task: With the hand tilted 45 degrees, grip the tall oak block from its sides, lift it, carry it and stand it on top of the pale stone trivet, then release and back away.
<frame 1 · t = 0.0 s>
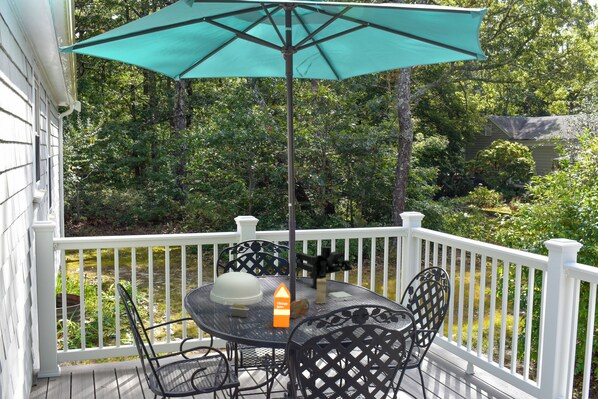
hand: (346, 269, 327), 17 cm above the table, tool horizontal, fingers open, 9 cm apart
orange juice: (281, 324, 276), on the table
stone trivet: (340, 299, 326), on the table
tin: (298, 316, 290), on the table
dome cover: (236, 298, 320), on the table
oak block: (320, 302, 316), on the table
platform: (239, 317, 286), on the table
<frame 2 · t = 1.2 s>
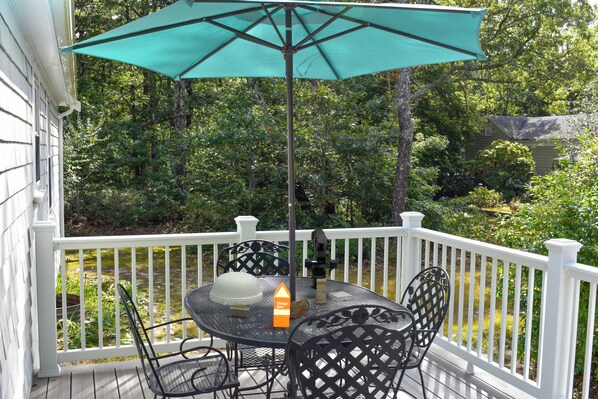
hand: (320, 276, 322), 13 cm above the table, tool tilted 45°, fingers open, 9 cm apart
nothing on the table moved.
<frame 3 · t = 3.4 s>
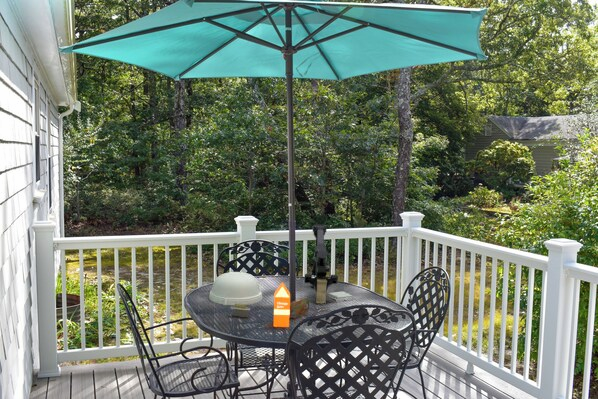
hand: (321, 291, 314), 7 cm above the table, tool tilted 45°, fingers closed on oak block, 5 cm apart
oak block: (320, 302, 316), on the table, touching gripper
everything else where it was.
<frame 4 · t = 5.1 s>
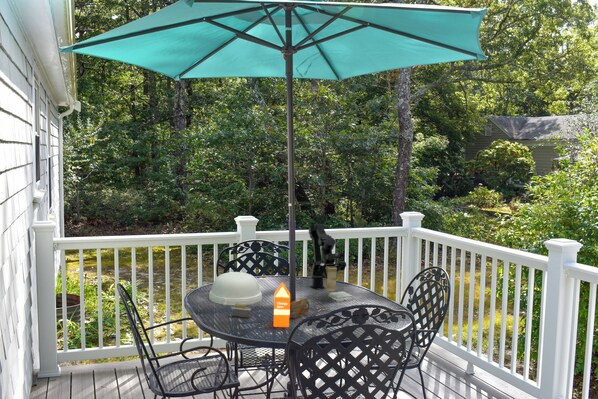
hand: (331, 278, 317), 13 cm above the table, tool tilted 45°, fingers closed on oak block, 5 cm apart
oak block: (330, 289, 319), point 7 cm above the table, touching gripper
everything else where it was.
when the fingers open (10 cm above the table, at t = 6.7 s): oak block drops 1 cm, resting on stone trivet.
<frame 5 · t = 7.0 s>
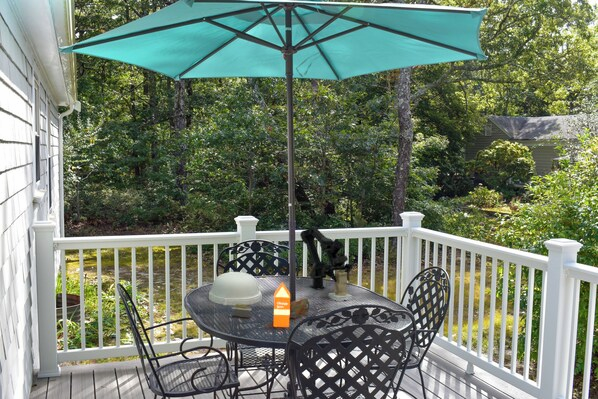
hand: (342, 281, 324), 11 cm above the table, tool tilted 45°, fingers open, 8 cm apart
stone trivet: (340, 299, 326), on the table, touching oak block
oak block: (340, 294, 326), point 3 cm above the table, touching stone trivet
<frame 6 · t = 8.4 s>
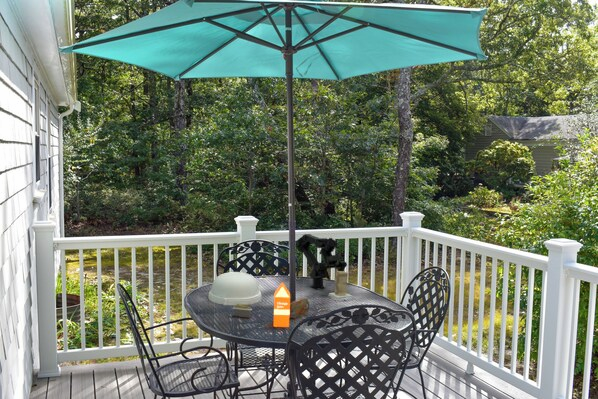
hand: (336, 279, 329), 10 cm above the table, tool tilted 45°, fingers open, 9 cm apart
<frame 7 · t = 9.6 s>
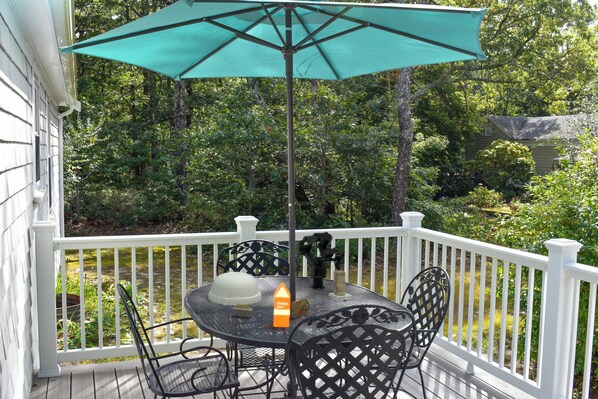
hand: (332, 272, 332), 14 cm above the table, tool tilted 45°, fingers open, 9 cm apart
stone trivet: (340, 299, 326), on the table
oak block: (339, 293, 326), point 3 cm above the table, tilted 5°
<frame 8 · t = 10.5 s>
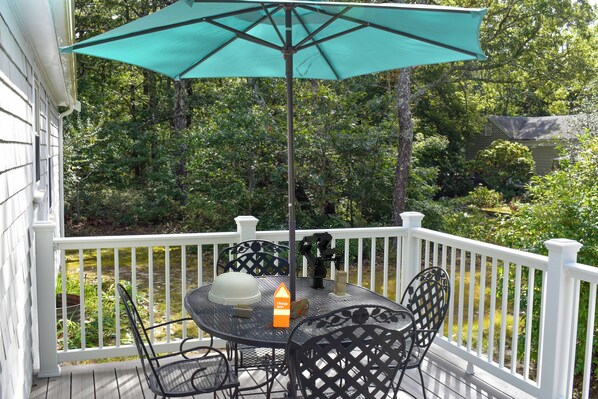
hand: (332, 272, 332), 14 cm above the table, tool tilted 45°, fingers open, 9 cm apart
stone trivet: (340, 299, 326), on the table, touching oak block
oak block: (339, 294, 326), point 3 cm above the table, touching stone trivet
at the end: oak block inside the target area on the stone trivet (0.6 cm from its centre), point 3.2 cm above the stone trivet's base; oak block tilted 4°; the gripper is holding nothing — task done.
